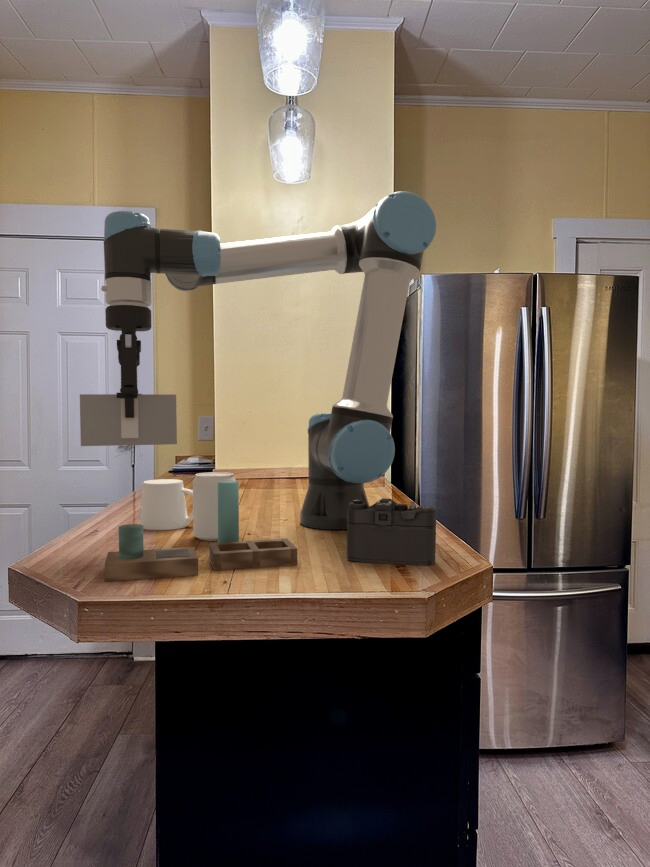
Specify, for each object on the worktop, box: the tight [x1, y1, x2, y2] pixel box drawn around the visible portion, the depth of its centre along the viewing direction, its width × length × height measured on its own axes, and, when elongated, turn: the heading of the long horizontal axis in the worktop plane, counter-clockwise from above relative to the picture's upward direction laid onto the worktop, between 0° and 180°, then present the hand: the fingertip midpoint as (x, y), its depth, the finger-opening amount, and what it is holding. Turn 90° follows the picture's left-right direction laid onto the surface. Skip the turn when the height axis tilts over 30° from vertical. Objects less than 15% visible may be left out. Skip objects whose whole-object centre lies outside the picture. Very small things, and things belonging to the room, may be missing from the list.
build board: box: [208, 538, 299, 571], centre depth 100 cm, size 13×8×2 cm, turn 106°
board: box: [104, 523, 199, 582], centre depth 94 cm, size 13×8×7 cm, turn 106°
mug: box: [138, 478, 193, 531], centre depth 128 cm, size 12×9×8 cm
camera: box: [346, 497, 437, 567], centre depth 103 cm, size 14×11×10 cm
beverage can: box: [192, 471, 237, 542], centre depth 118 cm, size 8×8×12 cm
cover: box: [79, 393, 178, 447], centre depth 108 cm, size 15×10×8 cm, turn 106°
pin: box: [217, 480, 240, 543], centre depth 106 cm, size 4×4×12 cm
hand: (130, 436), depth 108 cm, fingers closed on cover, 10 cm apart
